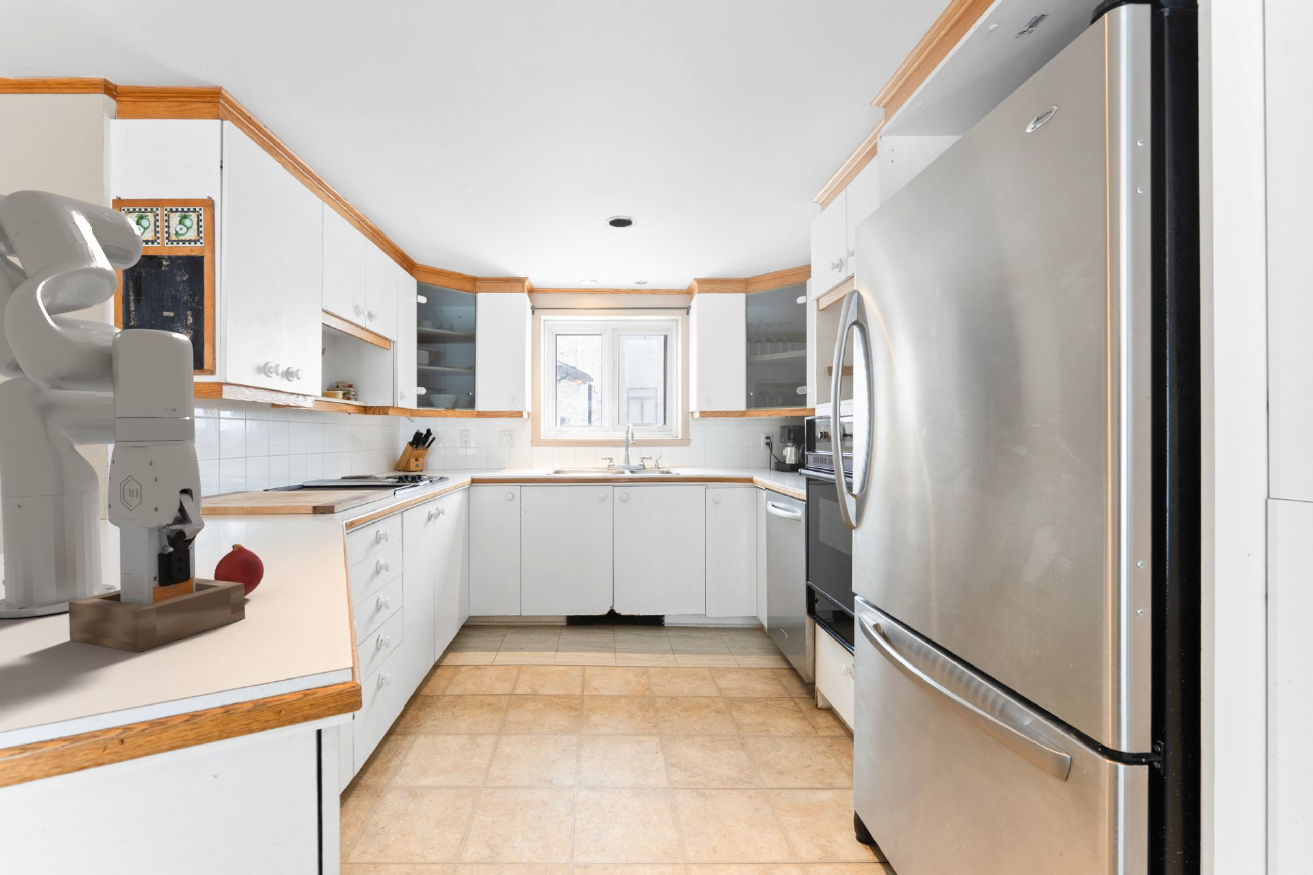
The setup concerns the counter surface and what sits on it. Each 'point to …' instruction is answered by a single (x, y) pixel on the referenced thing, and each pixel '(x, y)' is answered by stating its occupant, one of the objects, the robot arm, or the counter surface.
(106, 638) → the wooden tray
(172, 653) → the counter surface
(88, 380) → the robot arm
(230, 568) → the onion
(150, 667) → the counter surface
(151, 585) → the skincare box
